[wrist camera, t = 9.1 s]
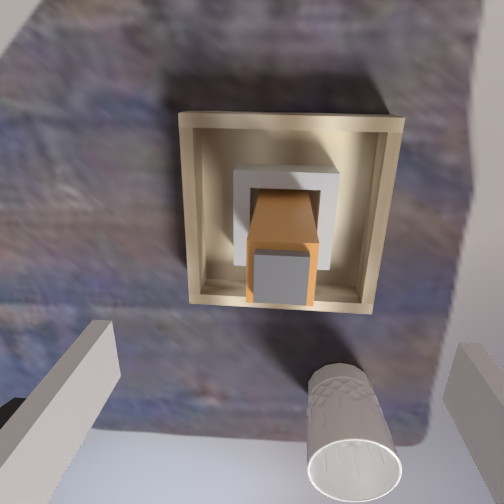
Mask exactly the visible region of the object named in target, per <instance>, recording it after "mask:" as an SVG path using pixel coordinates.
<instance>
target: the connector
mask: <svg viewBox="0 0 504 504" xmlns="http://www.w3.org/2000/svg"><path fill="white" fill-rule="evenodd" d="M318 253H319V239H318V235H317V230H316V225H315V221H314V216H313V212H312V207H311V202H310V198H309V193H308V190H291V189H263V188H260V192H259V196H258V200H257V203H256V207H255V211H254V214H253V218H252V222H251V225H250V229H249V233H248V236H247V241H246V302H248V303H265V304H282V305H299V306H313V305H314V295H315V284H316V274H317V263H318Z"/></svg>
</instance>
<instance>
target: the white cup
mask: <svg viewBox="0 0 504 504" xmlns="http://www.w3.org/2000/svg"><path fill="white" fill-rule="evenodd" d="M307 474H308V478H309V480H310V482H311V483H312V485H313V486H314V487H315V488H316V489H317V490H318V491H319V492H321V493H322V494H324V495H326V496H328V497H330V498H333V499H336V500H340V501H345V502H364V501H370V500H374V499H377V498H380V497H382V496H384V495H386V494H387V493H389V492H390V491H391V490H393V489H394V488H395V487H396V485H397V484H398V483H399V481H400V479H401V475H402V466H401V462H400V460H399V457H398V454H397V451H396V449H395V446H394V443H393V440H392V437H391V434H390V432H389V429H388V426H387V423H386V420H385V418H384V416H383V413H382V410H381V408H380V405H379V402H378V400H377V397H376V395H375V394H374V391H373V388H372V385H371V383H370V381H369V379H368V377H367V376H366V374H365V372H363V371H362V370H360V369H359V368H357V367H355V366H354V365H349V364H344V363H335V364H329V365H325V366H323V367H322V368H320V369H319V370H317V371H315V372H314V374H313V375H312V377H311V379H310V380H309V382H308V405H307Z"/></svg>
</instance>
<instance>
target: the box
mask: <svg viewBox="0 0 504 504" xmlns="http://www.w3.org/2000/svg"><path fill="white" fill-rule="evenodd" d="M178 120H179V136H180V153H181V170H182V187H183V203H184V220H185V237H186V253H187V270H188V287H189V303H191V304H208V305H225V306H241V307H258V308H275V309H292V310H308V311H325V312H342V313H359V314H372V309H373V303H374V298H375V292H376V286H377V280H378V274H379V268H380V262H381V256H382V251H383V245H384V239H385V233H386V227H387V221H388V215H389V210H390V204H391V198H392V192H393V186H394V180H395V174H396V169H397V163H398V157H399V151H400V145H401V139H402V133H403V128H404V122H405V118H404V117H400V116H395V115H390V114H343V113H296V112H249V111H202V110H190V111H185V112H179V113H178ZM238 163H247V164H279V165H311V166H335V167H336V168H337V170H338V171H339V173H340V180H339V189H338V198H337V207H336V216H335V225H334V234H333V243H332V252H331V261H330V270H317V274H316V284H315V295H314V305H313V306H299V305H282V304H265V303H248V302H246V266H236V265H234V230H233V170H234V168H235V167H236V165H237V164H238ZM263 189H272V188H263ZM291 190H299V189H291ZM259 192H260V188H253V214H254V211H255V207H256V203H257V200H258V196H259ZM308 193H309V198H310V202H311V207H312V212H313V216H314V220H315V208H316V197H317V190H308Z"/></svg>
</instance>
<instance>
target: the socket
mask: <svg viewBox="0 0 504 504" xmlns="http://www.w3.org/2000/svg"><path fill="white" fill-rule="evenodd" d="M339 180H340V173H339V171H338V170H337V168H336V167H335V166H311V165H279V164H247V163H238V164H237V165H236V167H235V168H234V170H233V230H234V265H236V266H246V241H247V236H248V233H249V229H250V225H251V222H252V218H253V188H272V189H299V190H317V197H316V208H315V220H314V221H315V225H316V230H317V235H318V239H319V253H318V263H317V270H330V261H331V252H332V243H333V234H334V225H335V216H336V207H337V198H338V189H339Z"/></svg>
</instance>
